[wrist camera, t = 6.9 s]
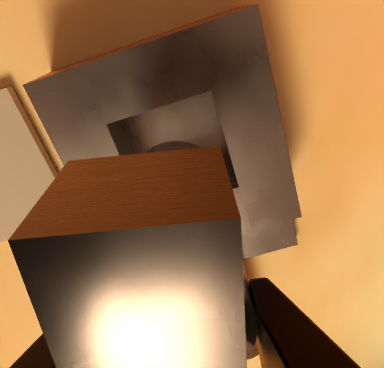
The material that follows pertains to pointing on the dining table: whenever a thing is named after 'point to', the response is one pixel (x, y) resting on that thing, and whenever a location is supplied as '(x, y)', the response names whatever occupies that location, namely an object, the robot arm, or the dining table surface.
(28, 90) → the block
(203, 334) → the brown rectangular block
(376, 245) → the dining table surface
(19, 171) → the mat
